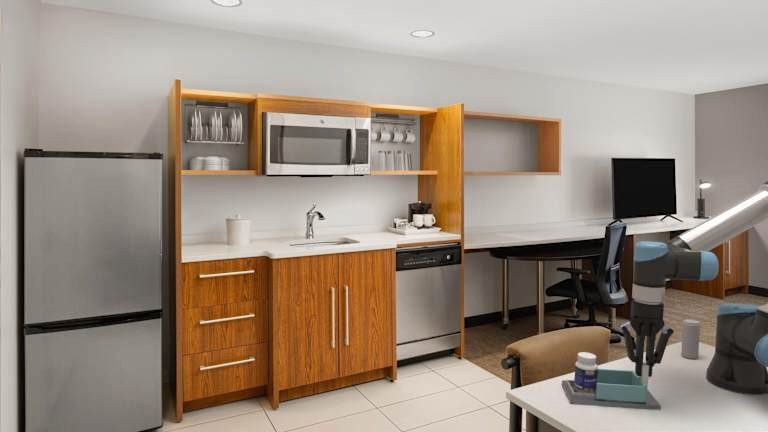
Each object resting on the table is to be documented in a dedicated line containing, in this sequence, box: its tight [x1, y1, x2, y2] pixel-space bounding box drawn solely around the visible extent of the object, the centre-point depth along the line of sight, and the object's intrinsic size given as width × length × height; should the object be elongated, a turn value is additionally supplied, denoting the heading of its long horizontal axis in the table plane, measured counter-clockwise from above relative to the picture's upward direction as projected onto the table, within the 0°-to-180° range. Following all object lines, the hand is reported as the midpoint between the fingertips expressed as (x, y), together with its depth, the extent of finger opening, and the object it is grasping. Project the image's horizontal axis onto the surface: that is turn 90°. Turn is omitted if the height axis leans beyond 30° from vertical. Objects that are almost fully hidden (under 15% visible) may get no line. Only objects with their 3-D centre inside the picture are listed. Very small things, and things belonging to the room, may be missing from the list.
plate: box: [561, 379, 662, 411], centre depth 135 cm, size 22×12×2 cm, turn 81°
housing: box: [596, 368, 647, 402], centre depth 135 cm, size 12×11×4 cm
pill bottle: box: [573, 351, 599, 394], centre depth 136 cm, size 6×6×10 cm
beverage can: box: [681, 318, 701, 360], centre depth 164 cm, size 5×5×12 cm
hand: (642, 387), depth 134 cm, fingers closed
